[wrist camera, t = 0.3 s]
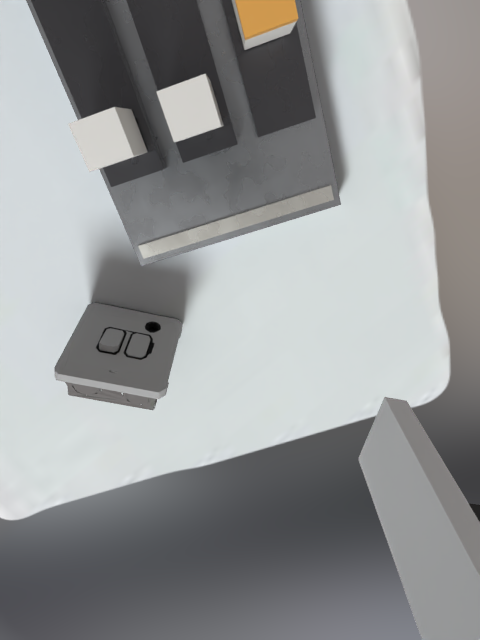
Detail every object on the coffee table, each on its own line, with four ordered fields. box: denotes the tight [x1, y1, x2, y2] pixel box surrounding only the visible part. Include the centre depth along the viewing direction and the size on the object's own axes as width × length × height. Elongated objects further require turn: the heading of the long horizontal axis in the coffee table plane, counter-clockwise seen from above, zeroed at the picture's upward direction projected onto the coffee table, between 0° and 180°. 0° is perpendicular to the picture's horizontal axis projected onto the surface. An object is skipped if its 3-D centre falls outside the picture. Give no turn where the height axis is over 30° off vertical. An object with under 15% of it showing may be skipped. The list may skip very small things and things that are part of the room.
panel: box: [26, 0, 341, 266], centre depth 30 cm, size 28×18×4 cm, turn 17°
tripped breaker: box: [232, 0, 298, 50], centre depth 25 cm, size 3×3×4 cm
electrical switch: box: [55, 303, 182, 410], centre depth 38 cm, size 9×5×9 cm, turn 77°
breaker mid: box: [156, 74, 224, 142], centre depth 27 cm, size 3×3×4 cm
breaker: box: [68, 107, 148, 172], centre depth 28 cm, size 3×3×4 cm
